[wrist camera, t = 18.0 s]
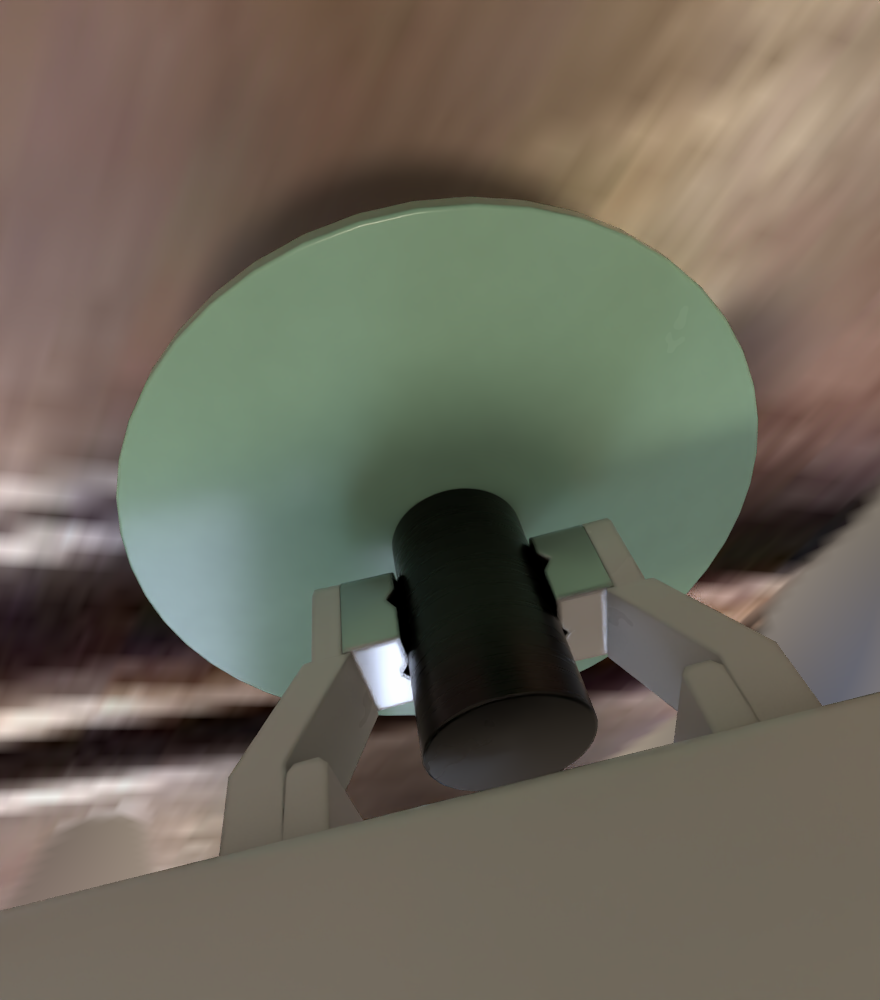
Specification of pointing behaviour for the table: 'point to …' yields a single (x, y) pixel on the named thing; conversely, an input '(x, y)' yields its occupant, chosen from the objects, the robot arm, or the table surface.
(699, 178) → the table surface
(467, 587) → the lid
